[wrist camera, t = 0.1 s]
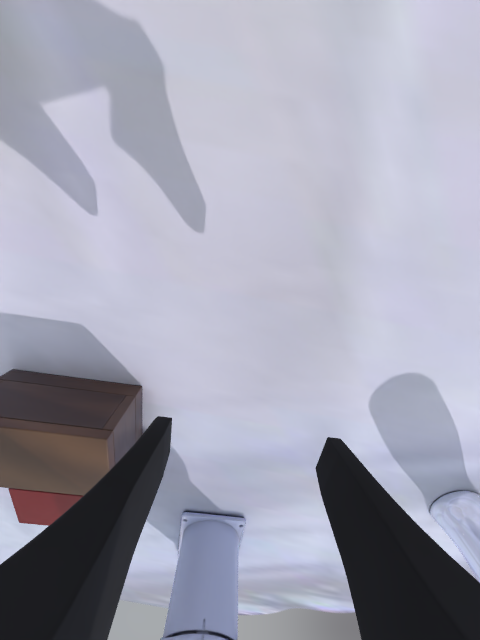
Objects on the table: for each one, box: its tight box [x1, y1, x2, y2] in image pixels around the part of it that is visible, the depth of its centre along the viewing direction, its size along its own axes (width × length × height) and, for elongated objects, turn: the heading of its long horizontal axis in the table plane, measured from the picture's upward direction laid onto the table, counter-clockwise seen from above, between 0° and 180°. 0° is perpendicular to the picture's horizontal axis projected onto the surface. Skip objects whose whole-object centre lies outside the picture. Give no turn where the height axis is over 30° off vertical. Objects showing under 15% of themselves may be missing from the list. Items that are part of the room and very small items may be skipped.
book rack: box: [0, 370, 142, 496], centre depth 21 cm, size 15×12×6 cm
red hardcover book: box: [9, 488, 83, 526], centre depth 22 cm, size 5×8×3 cm, turn 81°
